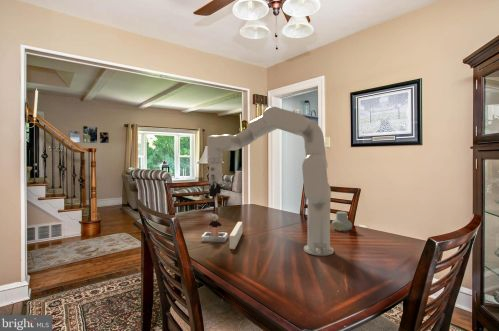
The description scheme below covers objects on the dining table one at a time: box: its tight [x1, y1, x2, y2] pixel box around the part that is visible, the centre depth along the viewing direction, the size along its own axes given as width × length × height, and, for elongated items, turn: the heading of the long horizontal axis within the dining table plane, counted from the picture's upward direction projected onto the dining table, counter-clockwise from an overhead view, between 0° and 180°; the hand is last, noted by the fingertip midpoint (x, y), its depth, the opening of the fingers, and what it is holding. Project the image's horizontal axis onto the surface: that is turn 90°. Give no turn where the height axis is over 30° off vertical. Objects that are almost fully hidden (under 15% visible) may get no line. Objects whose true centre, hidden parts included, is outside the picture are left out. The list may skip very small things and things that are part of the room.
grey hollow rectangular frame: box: [200, 231, 229, 243], centre depth 136 cm, size 8×12×2 cm, turn 84°
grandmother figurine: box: [207, 213, 223, 236], centre depth 136 cm, size 8×4×13 cm, turn 87°
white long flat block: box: [229, 221, 243, 250], centre depth 135 cm, size 26×2×6 cm, turn 174°
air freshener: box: [331, 211, 353, 232], centre depth 153 cm, size 11×8×10 cm
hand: (215, 195), depth 135 cm, fingers open, 9 cm apart
